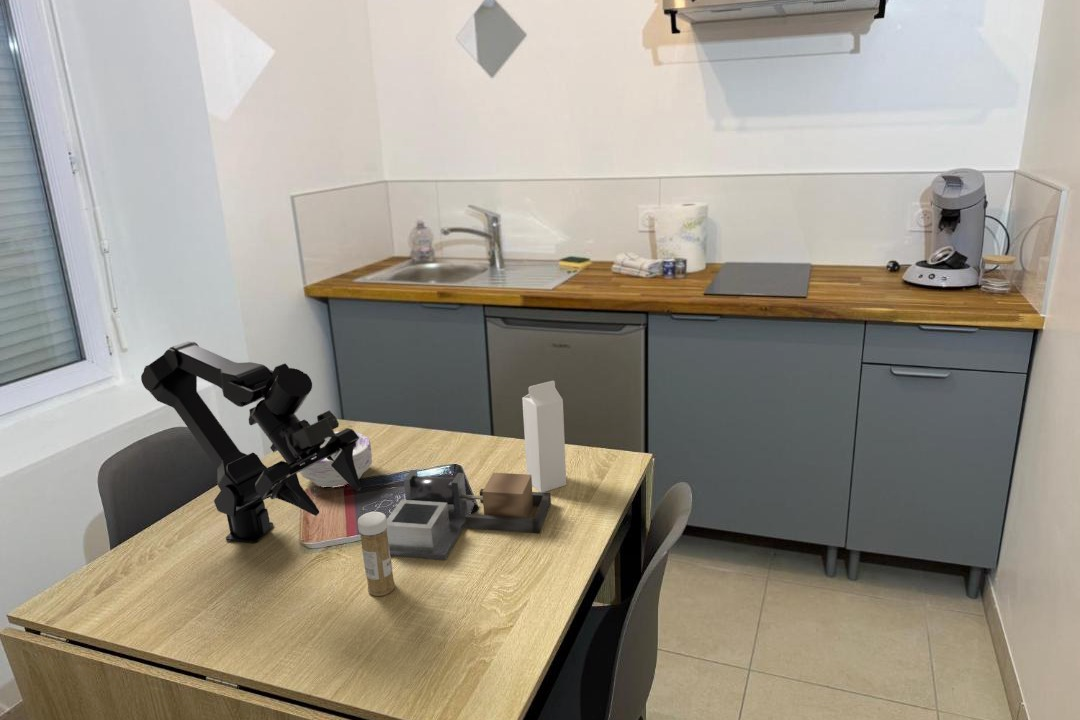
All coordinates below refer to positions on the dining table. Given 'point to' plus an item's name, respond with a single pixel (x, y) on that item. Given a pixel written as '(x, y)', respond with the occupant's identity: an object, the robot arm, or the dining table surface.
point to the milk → (544, 436)
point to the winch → (429, 516)
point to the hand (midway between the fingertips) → (339, 501)
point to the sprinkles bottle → (376, 553)
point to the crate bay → (510, 505)
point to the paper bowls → (329, 476)
